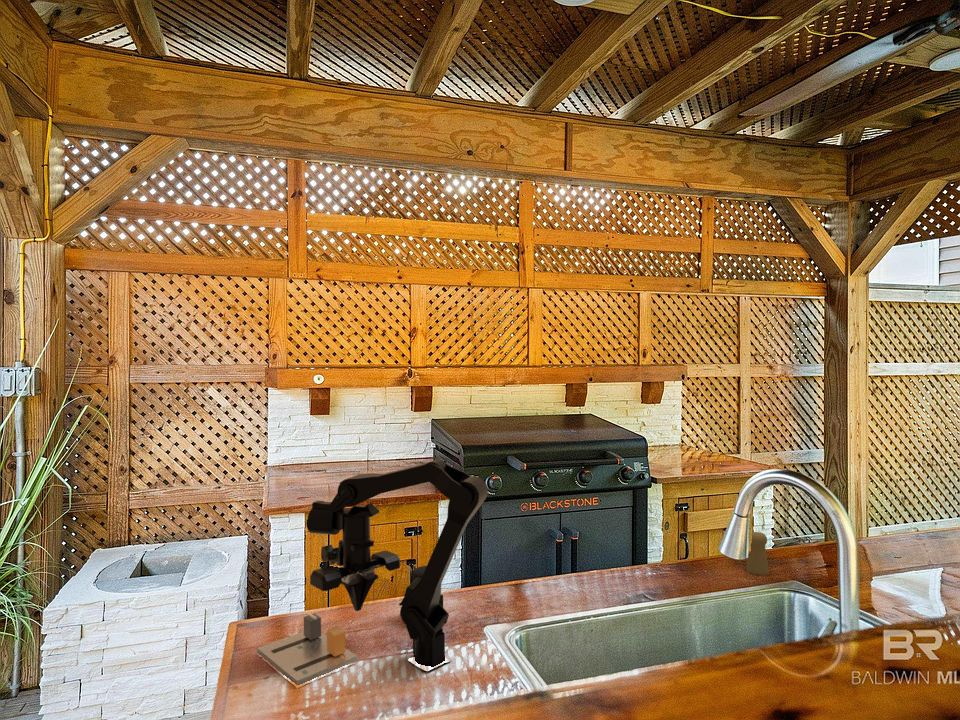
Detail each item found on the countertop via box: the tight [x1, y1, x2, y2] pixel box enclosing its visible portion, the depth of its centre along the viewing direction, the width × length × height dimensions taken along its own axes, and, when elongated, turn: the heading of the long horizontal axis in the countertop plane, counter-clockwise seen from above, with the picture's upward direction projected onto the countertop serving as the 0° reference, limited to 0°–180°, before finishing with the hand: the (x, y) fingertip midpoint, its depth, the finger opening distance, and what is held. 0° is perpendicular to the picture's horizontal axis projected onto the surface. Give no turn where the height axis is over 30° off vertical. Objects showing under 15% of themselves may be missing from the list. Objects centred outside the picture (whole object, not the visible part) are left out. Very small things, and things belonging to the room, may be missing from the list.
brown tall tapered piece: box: [745, 531, 770, 576], centre depth 164 cm, size 6×6×11 cm
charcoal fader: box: [303, 612, 322, 640], centre depth 124 cm, size 3×2×4 cm
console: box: [256, 630, 359, 685], centre depth 118 cm, size 18×13×2 cm
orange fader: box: [326, 625, 346, 657], centre depth 117 cm, size 3×2×4 cm
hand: (357, 610), depth 120 cm, fingers closed
